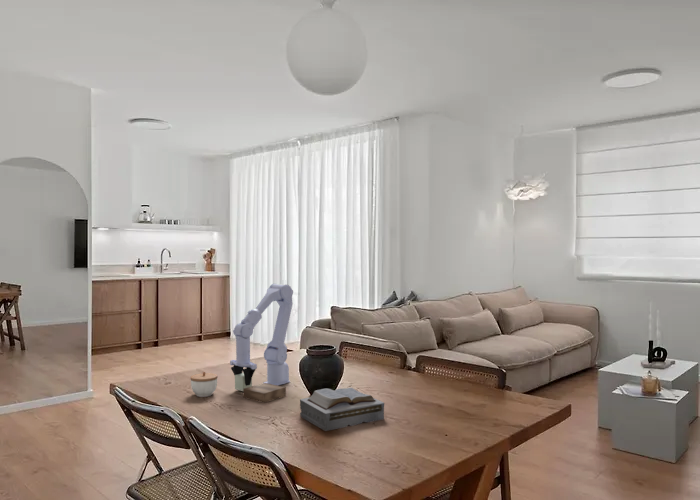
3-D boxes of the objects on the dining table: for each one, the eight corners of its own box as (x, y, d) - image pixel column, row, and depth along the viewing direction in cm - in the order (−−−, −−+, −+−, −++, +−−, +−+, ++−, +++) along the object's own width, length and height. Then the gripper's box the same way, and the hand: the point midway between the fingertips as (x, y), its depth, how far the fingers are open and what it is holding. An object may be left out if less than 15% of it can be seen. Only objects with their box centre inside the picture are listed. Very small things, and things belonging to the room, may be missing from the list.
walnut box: (265, 392, 233) (265, 382, 233) (285, 397, 226) (285, 387, 226) (243, 398, 224) (243, 388, 224) (264, 403, 216) (264, 393, 216)
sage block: (243, 386, 238) (243, 372, 238) (251, 388, 235) (251, 374, 234) (234, 389, 234) (234, 375, 234) (242, 391, 231) (242, 376, 231)
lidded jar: (201, 399, 220) (201, 376, 220) (185, 395, 227) (185, 372, 227) (223, 394, 229) (222, 371, 229) (206, 390, 235) (206, 368, 235)
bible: (296, 413, 203) (296, 386, 203) (364, 405, 213) (364, 380, 213) (315, 433, 182) (315, 403, 182) (390, 424, 191) (390, 395, 191)
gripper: (224, 351, 235) (224, 383, 235) (247, 355, 226) (247, 388, 226) (237, 348, 241) (237, 380, 241) (260, 352, 232) (260, 385, 232)
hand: (243, 384), depth 234 cm, fingers closed on sage block, 5 cm apart
